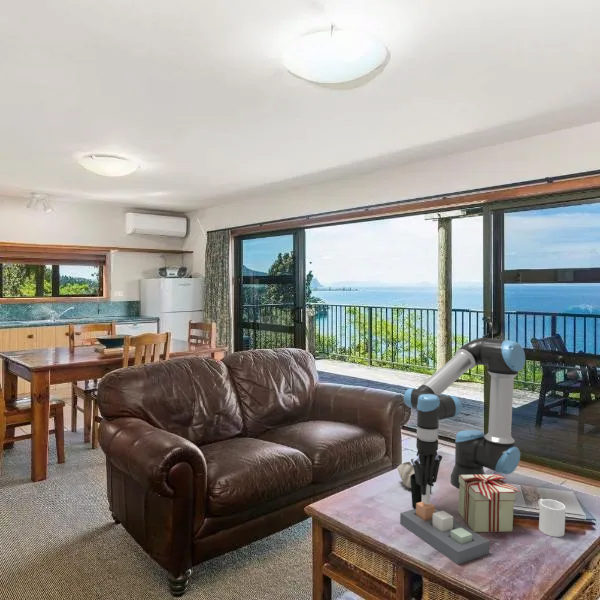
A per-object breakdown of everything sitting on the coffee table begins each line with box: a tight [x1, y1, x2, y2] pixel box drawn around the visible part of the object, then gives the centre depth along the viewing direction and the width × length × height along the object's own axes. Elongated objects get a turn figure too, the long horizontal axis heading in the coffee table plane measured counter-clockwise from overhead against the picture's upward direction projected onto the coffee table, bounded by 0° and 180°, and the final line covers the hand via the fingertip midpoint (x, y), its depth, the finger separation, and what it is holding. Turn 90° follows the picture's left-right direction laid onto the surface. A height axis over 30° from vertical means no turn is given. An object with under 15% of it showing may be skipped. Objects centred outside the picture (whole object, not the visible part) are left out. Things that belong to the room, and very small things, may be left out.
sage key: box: [450, 528, 472, 545], centre depth 160 cm, size 5×5×5 cm
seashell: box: [397, 461, 415, 489], centre depth 206 cm, size 10×15×10 cm
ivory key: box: [432, 510, 454, 532], centre depth 167 cm, size 5×5×5 cm
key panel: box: [399, 508, 491, 565], centre depth 167 cm, size 14×28×4 cm, turn 28°
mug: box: [537, 498, 567, 538], centre depth 174 cm, size 8×12×10 cm, turn 7°
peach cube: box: [416, 502, 437, 521], centre depth 175 cm, size 5×5×5 cm
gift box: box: [457, 473, 521, 533], centre depth 177 cm, size 17×18×17 cm
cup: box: [410, 474, 422, 509], centre depth 189 cm, size 8×8×12 cm
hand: (425, 502), depth 174 cm, fingers closed
